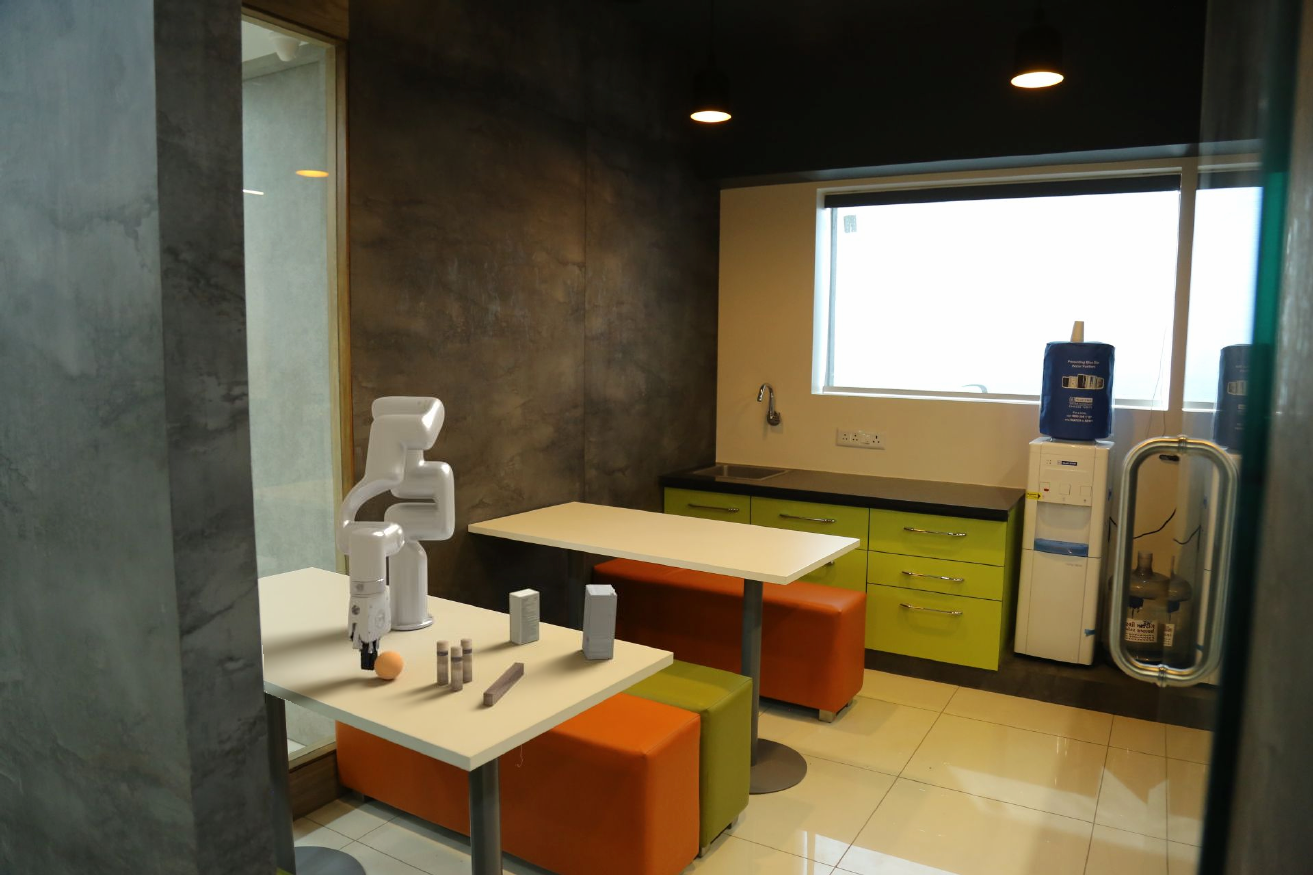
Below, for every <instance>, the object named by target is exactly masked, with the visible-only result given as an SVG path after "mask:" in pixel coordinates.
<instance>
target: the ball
mask: <svg viewBox="0 0 1313 875" xmlns="http://www.w3.org/2000/svg"><path fill="white" fill-rule="evenodd" d="M403 668H404V661H403V658H402V656H401V655H400V654H399V653H398V652H396V651H394V650H386V651H383V652H381V653H380V654H378V657H377V658H376V660H375V664H374V669H375V670H374V672H375V674H376V675H377V676H378V677H379V678H381V679H383V680H393V679H395V678H397V677H398V676H399V675H400V674H401V672H402V671H403Z"/></svg>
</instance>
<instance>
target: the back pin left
mask: <svg viewBox="0 0 1313 875" xmlns="http://www.w3.org/2000/svg"><path fill="white" fill-rule="evenodd" d="M460 646H462V658H463V660H462V671H463V683H467V684H468V683H471V682H473V639H472V638H470V637H465V638H461V639H460Z"/></svg>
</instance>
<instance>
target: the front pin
mask: <svg viewBox="0 0 1313 875" xmlns="http://www.w3.org/2000/svg"><path fill="white" fill-rule="evenodd" d="M449 678H450V677H449V641H448V640H446V639H445V640H443V639H442V640H438V641H436V684H437V685H438V686H446V685H448V684H449V681H450V680H449Z"/></svg>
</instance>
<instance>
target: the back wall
mask: <svg viewBox="0 0 1313 875" xmlns="http://www.w3.org/2000/svg"><path fill="white" fill-rule="evenodd" d="M524 674H525V663H524V662H514V663H513V664H512V665H511V666H510V667H509V668H508V669H507V670H506V671H504V673H503V674H501V675H500V676H499V677H498V678H497V679H496V680H495V681H494V682H493V683H492V684H491V685H490V686H489V687H488V688H487V689H486V690H484V691H483V696H482V698H483V700H482V701H483V702H482V703H483V706H490V707H494V705H495V704H497V702H498V701H499V700H500V699H501V698H502V697H503V696H504V695H505V694H507V692H508V691H509V690H510V689H511V688H512V687H513V686H514V685H515V684H516V683H517V682H518V681H519V680H520V679H521V678H522V677H523V675H524Z"/></svg>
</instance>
